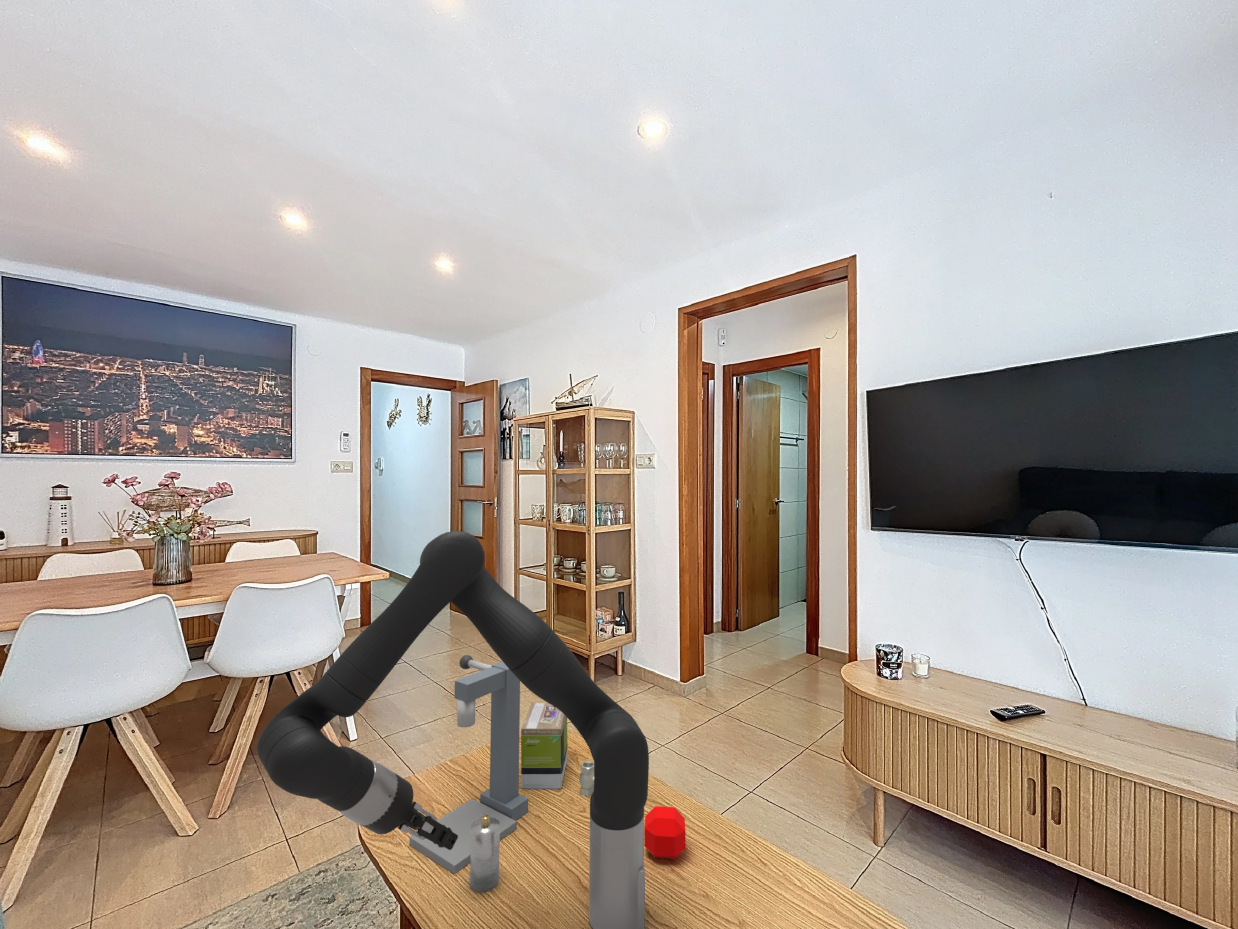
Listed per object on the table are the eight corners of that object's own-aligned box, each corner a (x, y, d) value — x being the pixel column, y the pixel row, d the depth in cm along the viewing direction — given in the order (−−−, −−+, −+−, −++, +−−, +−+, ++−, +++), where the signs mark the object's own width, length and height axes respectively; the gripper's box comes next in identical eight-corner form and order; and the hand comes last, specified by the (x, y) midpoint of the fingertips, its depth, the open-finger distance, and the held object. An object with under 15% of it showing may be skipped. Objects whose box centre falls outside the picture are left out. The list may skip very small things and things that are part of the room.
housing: (501, 871, 100) (502, 808, 101) (495, 892, 95) (496, 826, 95) (473, 871, 100) (474, 808, 100) (466, 892, 95) (467, 826, 95)
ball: (684, 839, 109) (684, 801, 110) (685, 867, 101) (685, 826, 102) (645, 837, 110) (645, 799, 110) (643, 864, 102) (644, 824, 102)
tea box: (530, 757, 142) (531, 701, 142) (568, 757, 142) (568, 701, 142) (519, 790, 127) (520, 727, 127) (561, 790, 127) (562, 727, 127)
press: (454, 874, 99) (457, 700, 100) (386, 829, 112) (389, 675, 113) (534, 815, 117) (536, 668, 118) (468, 782, 129) (470, 649, 131)
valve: (573, 797, 124) (619, 812, 119) (573, 768, 124) (619, 781, 119) (587, 783, 130) (631, 796, 124) (587, 756, 130) (631, 767, 125)
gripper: (418, 785, 78) (478, 824, 87) (365, 756, 86) (425, 794, 96) (384, 842, 74) (451, 876, 83) (331, 806, 82) (397, 841, 91)
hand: (437, 832), depth 89 cm, fingers open, 8 cm apart
